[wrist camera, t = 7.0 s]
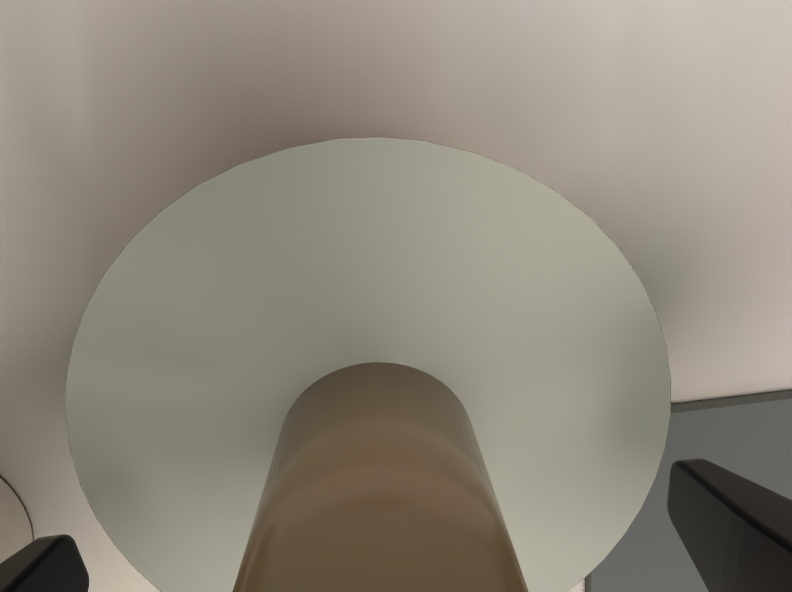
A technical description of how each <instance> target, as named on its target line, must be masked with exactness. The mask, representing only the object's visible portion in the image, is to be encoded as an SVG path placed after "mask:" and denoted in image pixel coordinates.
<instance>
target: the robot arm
mask: <svg viewBox="0 0 792 592" xmlns="http://www.w3.org/2000/svg"><path fill="white" fill-rule="evenodd" d="M667 510H668V514H669V517H670V520H671V522H672V524H673V526H674V528H675V530H676V532H677V533H678V535H679V537H680V539H681V541H682V543H683V545H684V547H685V549H686V550H687V552H688V554H689V556H690V558H691V560H692V562H693V564H694V566H695V567H696V569H697V571H698V573H699V575H700V577H701V579H702V581H703V583H704V584H705V586H706V588H707V590H708V592H792V500H791V499H789V498H787V497H785V496H783V495H781V494H778V493H776V492H774V491H772V490H770V489H768V488H766V487H764V486H761V485H759V484H757V483H755V482H753V481H751V480H749V479H746V478H744V477H742V476H740V475H738V474H736V473H734V472H732V471H729V470H727V469H725V468H723V467H721V466H719V465H717V464H714V463H712V462H710V461H708V460H706V459H703V458H692V459H683V460H677V461H675V462H673V463H672V465H671V468H670V476H669V487H668V497H667ZM88 587H89V575H88V572H87V570H86V567H85V565H84V562H83V560H82V558H81V555H80V553H79V550H78V548H77V546H76V543H75V541H74V539H73V538H72V537H70V536H69V535H55V536H47V537H42V538H38V539H36V540H34V541H33V542H31V543H30V544H28V545H27V546H25V547H24V548H22V549H21V550H19V551H18V552H16V553H15V554H13V555H12V556H10V557H9V558H8V559H6V560H5V561H3V562H2V563H0V592H88Z"/></svg>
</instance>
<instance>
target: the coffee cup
mask: <svg viewBox="0 0 792 592" xmlns="http://www.w3.org/2000/svg"><path fill="white" fill-rule="evenodd" d="M31 542H33V536H32V529H31V525H30V521H29V518H28V516H27V513H26V511H25V509H24V507H23V505H22V504H21V502H20V500H19V499H18V497H17V496H16V495H15V493H14V492H13V491H12V489H11V488H10V487H9V486H8V485H7V484H6V483H5V482H4V481H3V480H2V479H1V478H0V563H2V562H3V561H5V560H6V559H8V558H9V557H10V556H12V555H13V554H15V553H16V552H18V551H19V550H21V549H22V548H24V547H25V546H27V545H28V544H30V543H31Z"/></svg>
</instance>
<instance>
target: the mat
mask: <svg viewBox="0 0 792 592" xmlns="http://www.w3.org/2000/svg"><path fill="white" fill-rule="evenodd" d="M692 458H703V459H706V460H708V461H710V462H712V463H714V464H717V465H719V466H721V467H723V468H725V469H727V470H729V471H732V472H734V473H736V474H738V475H740V476H742V477H744V478H746V479H749V480H751V481H753V482H755V483H757V484H759V485H761V486H764V487H766V488H768V489H770V490H772V491H774V492H776V493H778V494H781V495H783V496H785V497H787V498H789V499H791V500H792V390H789V391H781V392H772V393H764V394H756V395H748V396H739V397H731V398H723V399H715V400H706V401H698V402H690V403H682V404H673V405H671V408H670V420H669V426H668V432H667V438H666V444H665V449H664V452H663V455H662V458H661V462H660V465H659V468H658V471H657V474H656V478H655V480H654V482H653V484H652V486H651V488H650V490H649V493H648V495H647V497H646V499H645V501H644V503H643V505H642V507H641V509H640V511H639V512H638V514H637V515H636V517H635V518H634V520H633V522H632V523H631V525H630V526H629V528H628V529H627V531H626V533H625V534H624V535H623V537H622V538H621V539H620V540H619V541H618V543H617V544H616V545H615V546H614V548H613V549H612V550H611V551H610V552H609V554H608V555H607V556H606V557H605V559H604V560H603V561H602V562H600V563H599V564H598V565H597V566H596V567H595V568H594V569H593V570H592V571H591V572H590V573H589V574H588V575H587V576H586V591H585V592H708V590H707V588H706V586H705V584H704V583H703V581H702V579H701V577H700V575H699V573H698V571H697V569H696V567H695V566H694V564H693V562H692V560H691V558H690V556H689V554H688V552H687V550H686V549H685V547H684V545H683V543H682V541H681V539H680V537H679V535H678V533H677V532H676V530H675V528H674V526H673V524H672V522H671V520H670V517H669V514H668V510H667V497H668V487H669V476H670V468H671V465H672V463H673V462H675V461H677V460H683V459H692Z"/></svg>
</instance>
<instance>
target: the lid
mask: <svg viewBox="0 0 792 592" xmlns="http://www.w3.org/2000/svg"><path fill="white" fill-rule="evenodd" d="M670 408H671V378H670V371H669V363H668V356H667V349H666V344H665V341H664V338H663V334H662V331H661V328H660V324H659V321H658V318H657V314H656V312H655V309H654V307H653V305H652V303H651V301H650V299H649V297H648V295H647V293H646V291H645V289H644V287H643V285H642V282H641V280H640V278H639V277H638V276H637V274H636V273H635V271H634V270H633V268H632V267H631V265H630V264H629V263H628V261H627V260H626V258H625V257H624V255H623V254H622V252H621V251H620V250H619V248H618V247H617V246H616V245H615V244H614V243H613V241H612V240H611V239H610V238H609V237H608V236H607V235H606V234H605V233H604V232H603V231H602V230H601V229H600V228H599V227H598V226H597V225H596V223H595V222H594V221H593V220H592V219H591V218H590V217H589V216H587V215H586V214H585V213H583V212H582V211H581V210H580V209H578V208H577V207H576V206H574V205H573V204H572V203H571V202H569V201H568V200H567V199H565V198H564V197H563V196H562V195H560V194H559V193H558V192H556V191H555V190H553V189H551V188H549V187H548V186H546V185H544V184H542V183H541V182H539V181H537V180H535V179H533V178H532V177H530V176H528V175H526V174H525V173H523V172H521V171H519V170H517V169H515V168H512V167H510V166H507V165H505V164H502V163H499V162H497V161H494V160H492V159H489V158H487V157H484V156H482V155H479V154H476V153H473V152H468V151H464V150H460V149H456V148H452V147H447V146H443V145H439V144H435V143H430V142H426V141H417V140H406V139H395V138H385V137H373V138H350V139H335V140H329V141H324V142H319V143H313V144H308V145H302V146H297V147H292V148H287V149H284V150H281V151H278V152H275V153H272V154H269V155H266V156H263V157H260V158H257V159H254V160H251V161H248V162H245V163H242V164H239V165H237V166H235V167H233V168H231V169H229V170H227V171H225V172H223V173H221V174H219V175H217V176H215V177H213V178H211V179H209V180H207V181H205V182H203V183H201V184H199V185H198V186H196V187H195V188H193V189H192V190H191V191H189V192H188V193H186V194H185V195H183V196H182V197H181V198H179V199H178V200H176V201H175V202H173V203H172V204H171V205H169V206H168V207H166V208H165V209H163V210H162V211H161V212H160V213H159V214H158V215H157V216H156V217H154V218H153V219H152V220H151V221H150V222H149V223H148V224H147V225H146V226H145V227H144V228H143V229H142V230H141V231H140V232H139V233H138V234H137V235H136V236H134V237H133V238H132V239H131V240H130V241H129V243H128V244H127V245H126V247H125V248H124V249H123V250H122V252H121V253H120V254H119V256H118V257H117V258H116V260H115V261H114V262H113V263H112V265H111V266H110V267H109V269H108V270H107V271H106V272H105V274H104V276H103V277H102V279H101V281H100V283H99V285H98V287H97V288H96V290H95V292H94V294H93V296H92V298H91V299H90V301H89V303H88V305H87V307H86V309H85V311H84V314H83V317H82V320H81V323H80V325H79V328H78V331H77V334H76V337H75V340H74V343H73V345H72V351H71V357H70V362H69V368H68V374H67V379H66V424H67V431H68V438H69V445H70V452H71V455H72V459H73V462H74V465H75V468H76V472H77V475H78V478H79V481H80V485H81V487H82V489H83V491H84V493H85V496H86V498H87V500H88V502H89V504H90V506H91V508H92V510H93V512H94V514H95V516H96V518H97V519H98V521H99V522H100V524H101V525H102V527H103V528H104V530H105V532H106V533H107V535H108V536H109V538H110V539H111V541H112V542H113V544H114V545H115V546H116V547H117V548H118V550H119V551H120V552H121V553H122V554H123V555H124V556H125V558H126V559H127V560H128V561H129V562H130V563H131V564H132V566H133V567H134V568H135V569H136V570H137V571H138V572H139V573H140V574H141V575H143V576H144V577H145V578H146V579H147V580H148V581H149V582H150V583H151V584H153V585H154V586H155V587H156V588H157V589H158V590H159V591H160V592H568V591H569V590H570V589H572V588H573V587H574V586H576V585H577V584H578V583H579V582H581V581H582V580H583V579H584V578H585V577H586V576H587V575H588V574H589V573H590V572H591V571H592V570H593V569H594V568H595V567H596V566H597V565H598V564H599V563H600V562H602V561H603V560H604V559H605V557H606V556H607V555H608V554H609V552H610V551H611V550H612V549H613V548H614V546H615V545H616V544H617V543H618V541H619V540H620V539H621V538H622V537H623V535H624V534H625V533H626V531H627V529H628V528H629V526H630V525H631V523H632V522H633V520H634V518H635V517H636V515H637V514H638V512H639V511H640V509H641V507H642V505H643V503H644V501H645V499H646V497H647V495H648V493H649V490H650V488H651V486H652V484H653V482H654V480H655V478H656V474H657V471H658V468H659V465H660V462H661V458H662V455H663V452H664V449H665V444H666V438H667V432H668V426H669V420H670Z"/></svg>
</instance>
